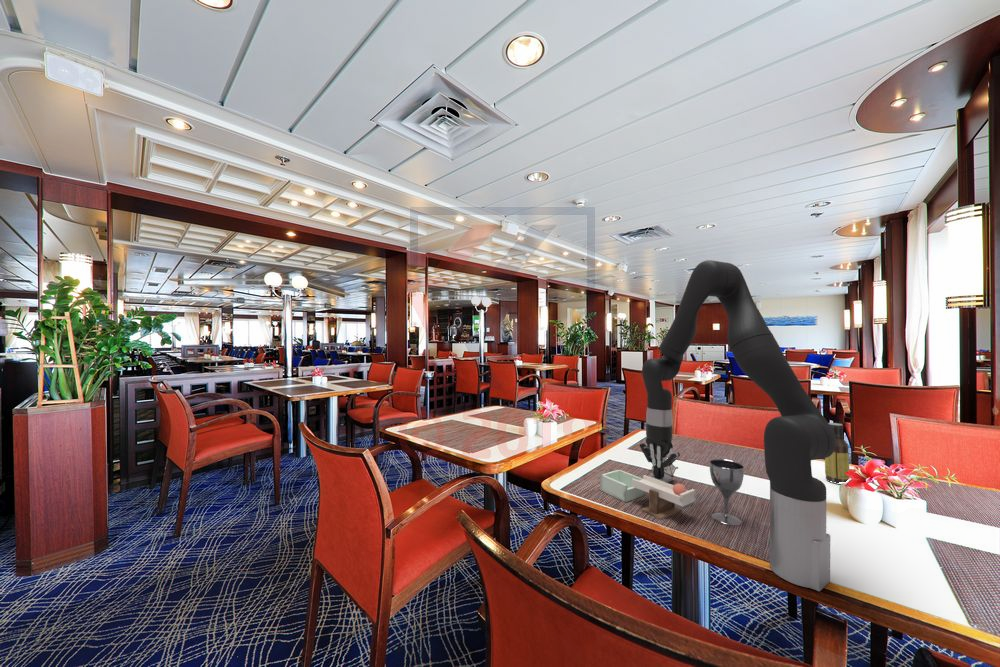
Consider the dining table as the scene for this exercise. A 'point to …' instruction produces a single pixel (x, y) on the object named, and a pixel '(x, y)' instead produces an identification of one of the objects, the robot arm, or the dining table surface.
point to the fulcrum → (660, 506)
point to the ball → (679, 489)
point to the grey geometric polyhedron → (668, 470)
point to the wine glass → (726, 485)
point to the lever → (665, 490)
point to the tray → (620, 485)
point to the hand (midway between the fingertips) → (658, 478)
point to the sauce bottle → (838, 457)
